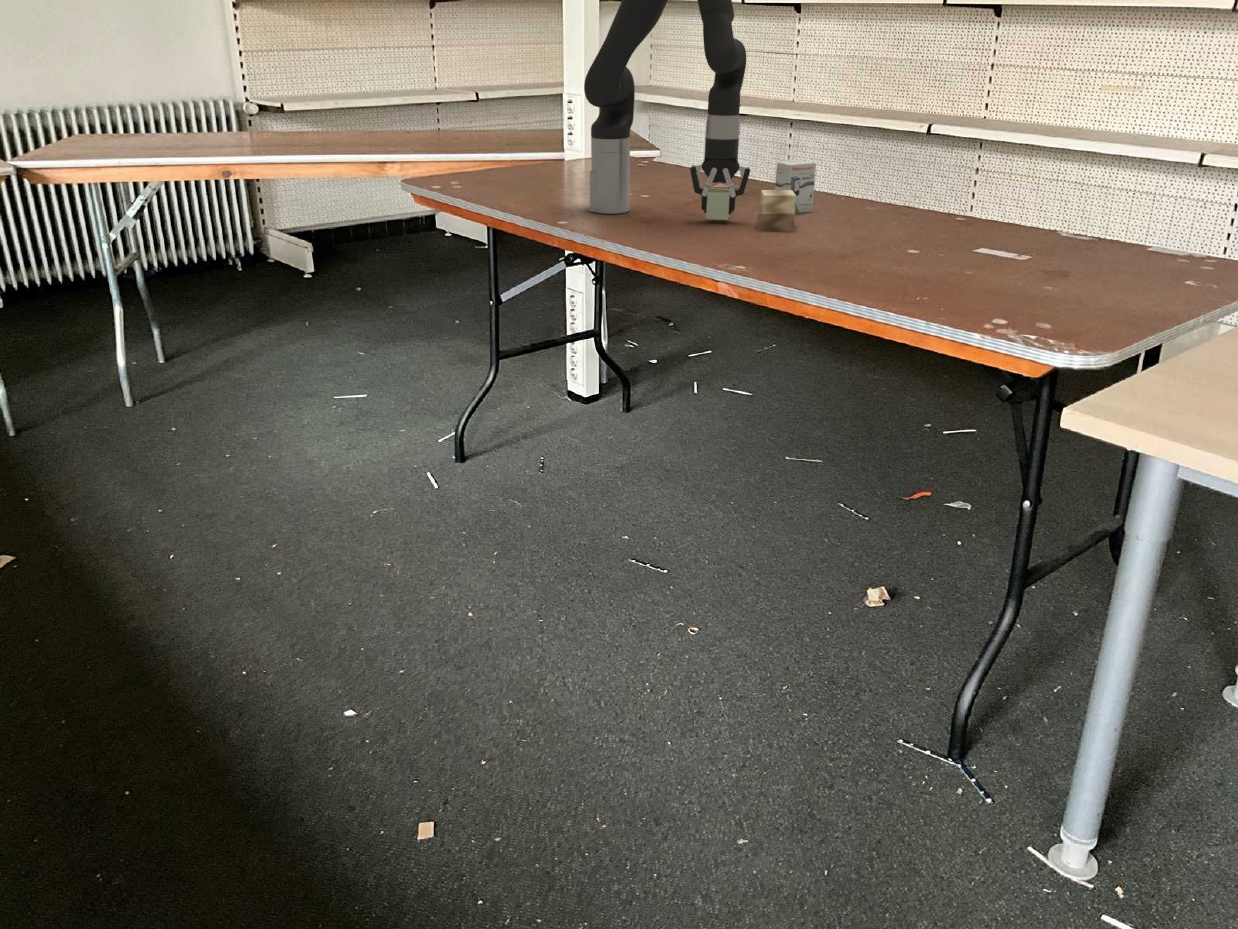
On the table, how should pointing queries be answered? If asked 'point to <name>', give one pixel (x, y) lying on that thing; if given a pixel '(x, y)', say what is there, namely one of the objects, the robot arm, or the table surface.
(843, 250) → the table surface
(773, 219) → the tower base
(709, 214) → the sage block
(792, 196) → the tower top
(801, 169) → the ink box
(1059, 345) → the table surface
